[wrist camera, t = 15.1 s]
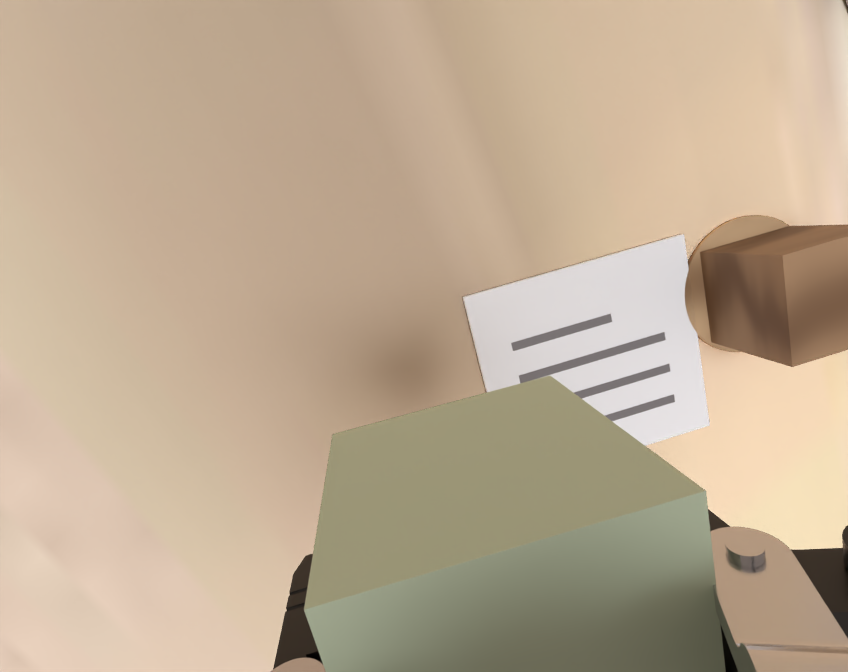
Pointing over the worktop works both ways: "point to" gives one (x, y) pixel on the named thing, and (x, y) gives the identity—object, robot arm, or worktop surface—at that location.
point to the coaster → (717, 237)
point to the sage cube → (510, 545)
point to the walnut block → (780, 293)
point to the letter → (601, 337)
